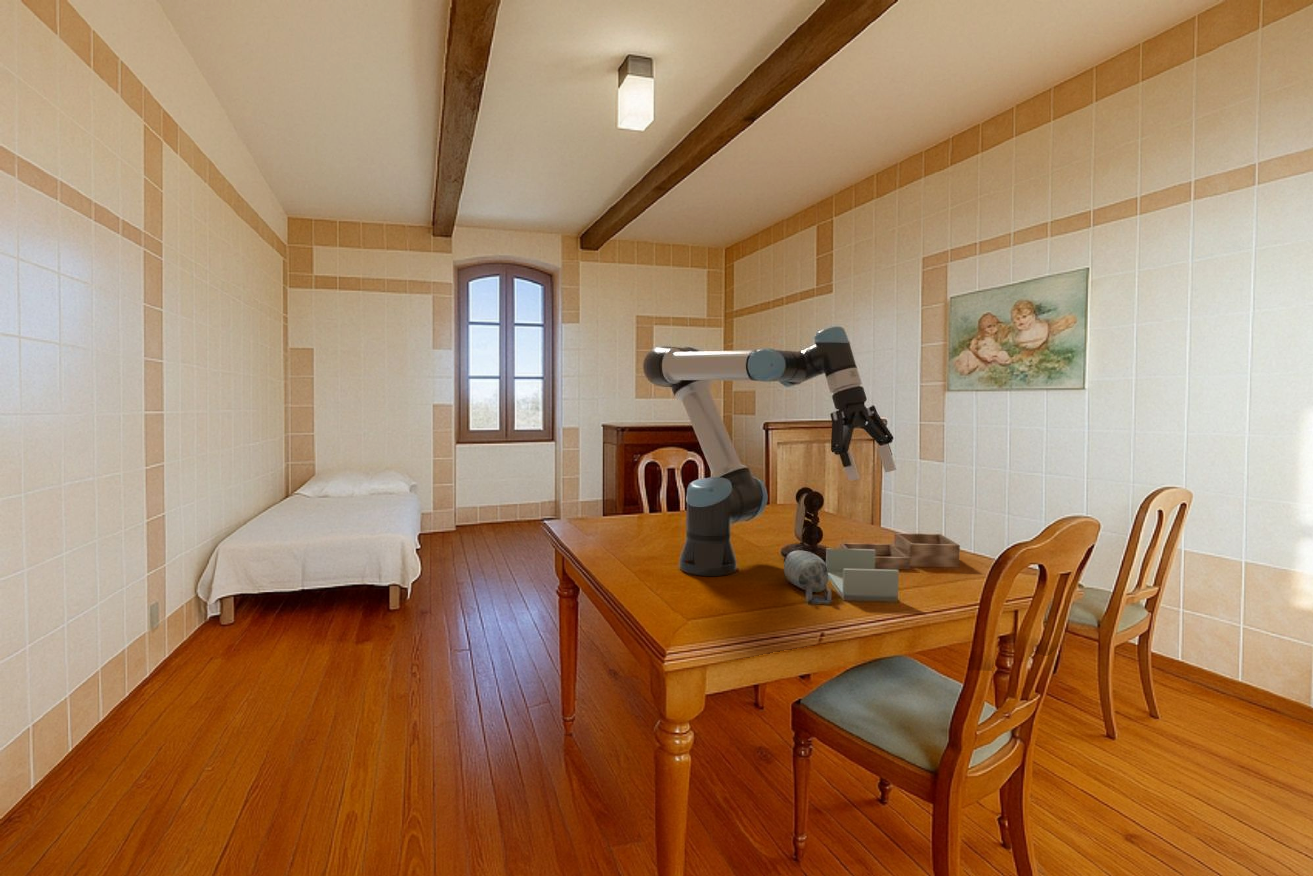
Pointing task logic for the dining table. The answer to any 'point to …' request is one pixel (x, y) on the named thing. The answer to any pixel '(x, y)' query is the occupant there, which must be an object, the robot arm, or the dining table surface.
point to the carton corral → (928, 549)
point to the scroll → (807, 524)
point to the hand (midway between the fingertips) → (873, 475)
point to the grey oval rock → (806, 570)
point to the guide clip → (818, 597)
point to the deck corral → (893, 562)
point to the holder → (860, 575)
